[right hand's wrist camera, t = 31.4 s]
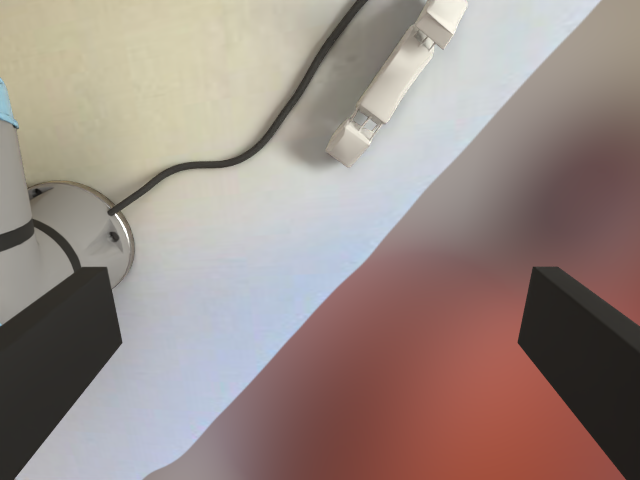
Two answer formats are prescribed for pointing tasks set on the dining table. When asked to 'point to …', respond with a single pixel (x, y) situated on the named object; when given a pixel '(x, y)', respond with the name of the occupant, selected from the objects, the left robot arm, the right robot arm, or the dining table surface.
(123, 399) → the dining table surface
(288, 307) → the dining table surface
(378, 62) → the dining table surface
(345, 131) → the white segmented figure
